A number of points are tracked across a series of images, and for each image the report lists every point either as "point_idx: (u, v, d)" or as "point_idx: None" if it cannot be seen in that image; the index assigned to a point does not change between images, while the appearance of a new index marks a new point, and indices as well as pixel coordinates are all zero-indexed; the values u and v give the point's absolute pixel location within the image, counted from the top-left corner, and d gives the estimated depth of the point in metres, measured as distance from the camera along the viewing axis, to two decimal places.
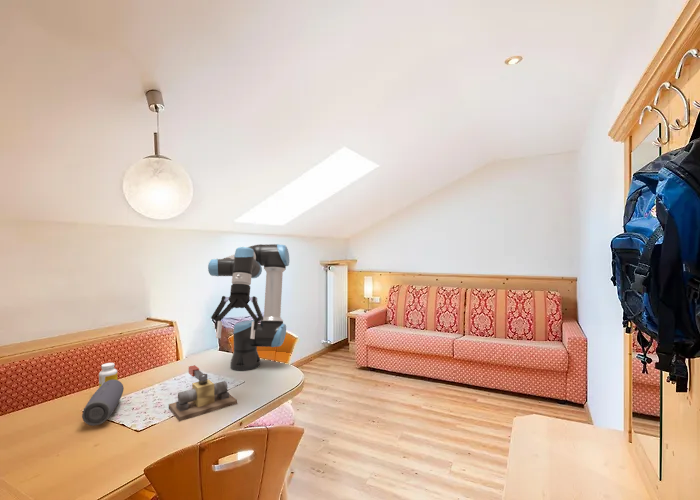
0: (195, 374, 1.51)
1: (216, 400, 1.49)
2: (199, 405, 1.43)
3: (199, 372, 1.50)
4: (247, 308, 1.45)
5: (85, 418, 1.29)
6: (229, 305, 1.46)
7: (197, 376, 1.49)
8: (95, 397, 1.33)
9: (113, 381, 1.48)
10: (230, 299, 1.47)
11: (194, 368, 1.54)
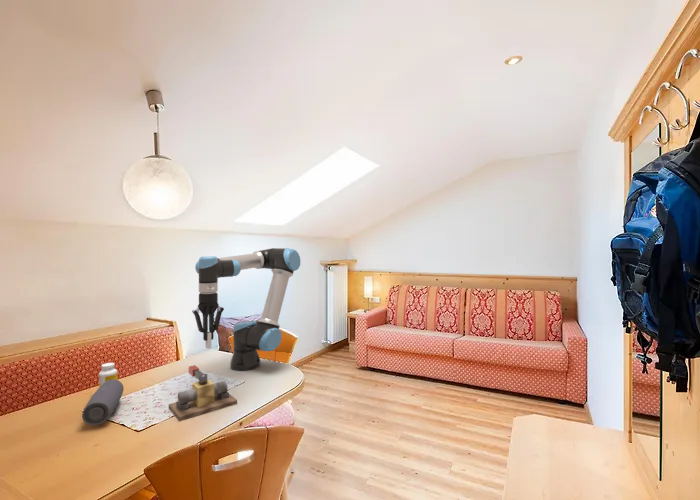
0: (195, 374, 1.51)
1: (216, 400, 1.49)
2: (199, 405, 1.43)
3: (199, 372, 1.50)
4: (212, 317, 1.57)
5: (85, 418, 1.29)
6: (206, 315, 1.55)
7: (197, 376, 1.49)
8: (95, 397, 1.33)
9: (113, 381, 1.48)
10: (202, 308, 1.55)
11: (194, 368, 1.54)
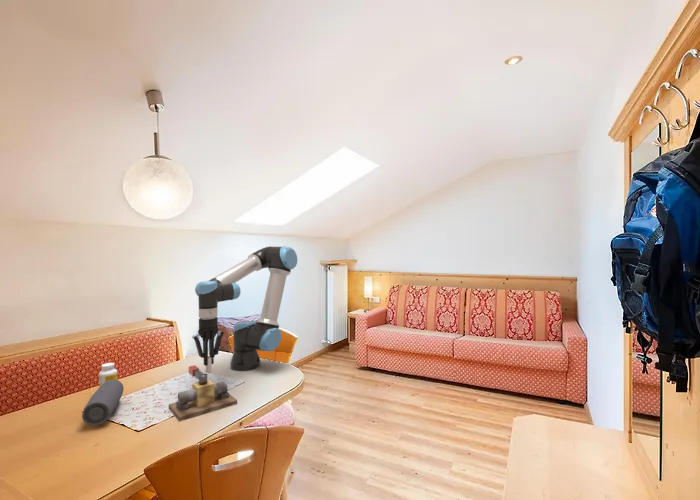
0: (195, 374, 1.51)
1: (216, 400, 1.49)
2: (199, 405, 1.43)
3: (199, 372, 1.50)
4: (212, 342, 1.58)
5: (85, 418, 1.29)
6: (206, 340, 1.56)
7: (197, 376, 1.49)
8: (95, 397, 1.33)
9: (113, 381, 1.48)
10: (202, 333, 1.55)
11: (194, 368, 1.54)
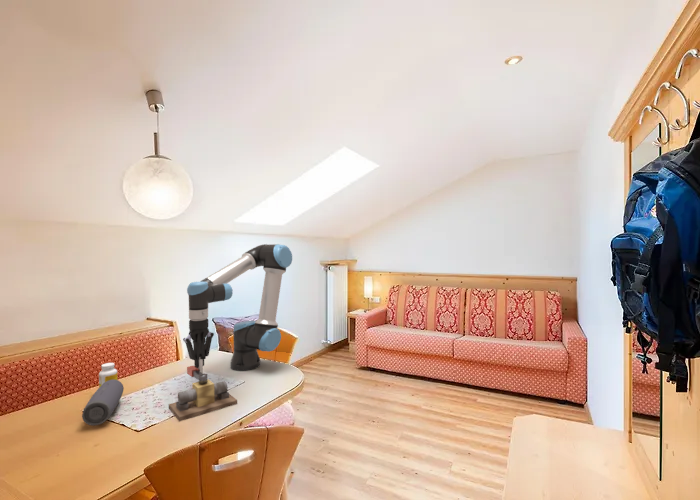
0: (194, 374, 1.51)
1: (216, 400, 1.49)
2: (199, 405, 1.43)
3: (198, 372, 1.50)
4: (203, 344, 1.55)
5: (85, 418, 1.29)
6: (198, 342, 1.53)
7: (197, 376, 1.49)
8: (95, 397, 1.33)
9: (113, 381, 1.48)
10: (193, 335, 1.52)
11: (193, 368, 1.54)
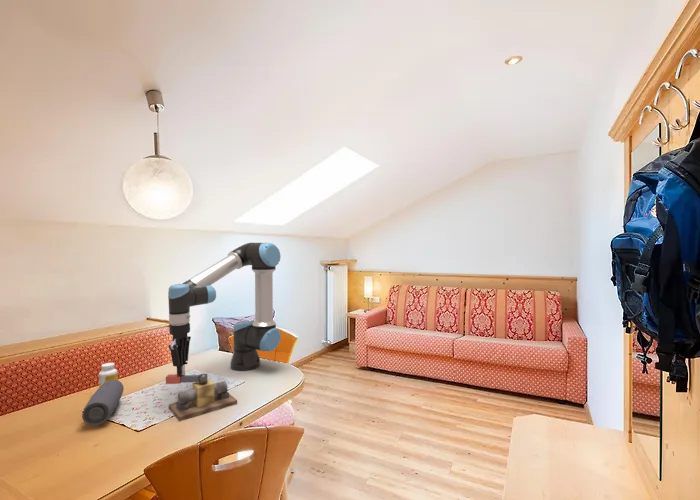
0: (185, 379, 1.46)
1: (216, 400, 1.49)
2: (199, 405, 1.43)
3: (191, 375, 1.47)
4: (184, 348, 1.49)
5: (85, 418, 1.29)
6: (182, 347, 1.46)
7: (192, 379, 1.46)
8: (95, 397, 1.33)
9: (113, 381, 1.48)
10: (178, 340, 1.45)
11: (177, 375, 1.46)
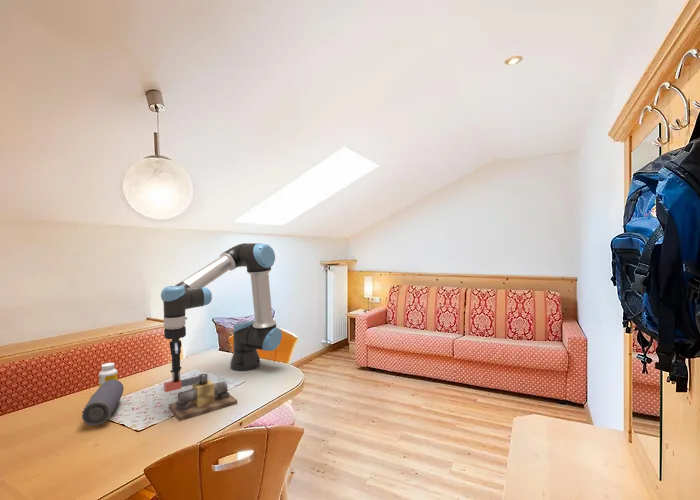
0: (186, 383, 1.42)
1: (216, 400, 1.49)
2: (199, 405, 1.43)
3: (190, 378, 1.44)
4: None
5: (85, 418, 1.29)
6: (180, 351, 1.42)
7: (193, 381, 1.44)
8: (95, 397, 1.33)
9: (113, 381, 1.48)
10: (179, 344, 1.40)
11: (176, 381, 1.40)
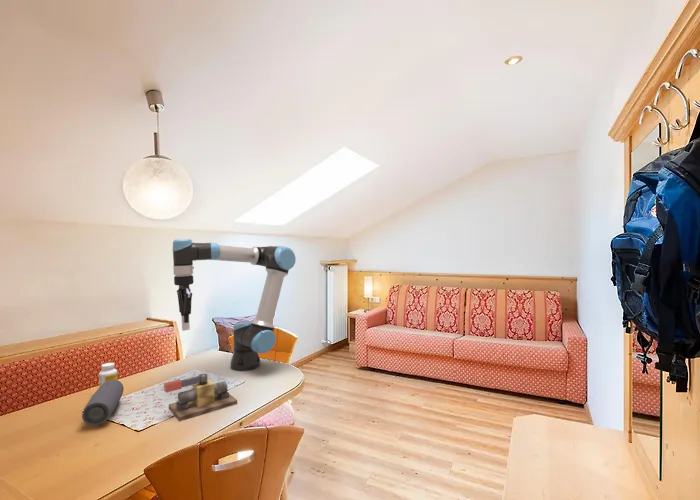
0: (187, 383, 1.42)
1: (216, 400, 1.49)
2: (199, 405, 1.43)
3: (190, 378, 1.44)
4: None
5: (85, 418, 1.29)
6: None
7: (194, 381, 1.44)
8: (95, 397, 1.33)
9: (113, 381, 1.48)
10: None
11: (176, 381, 1.40)
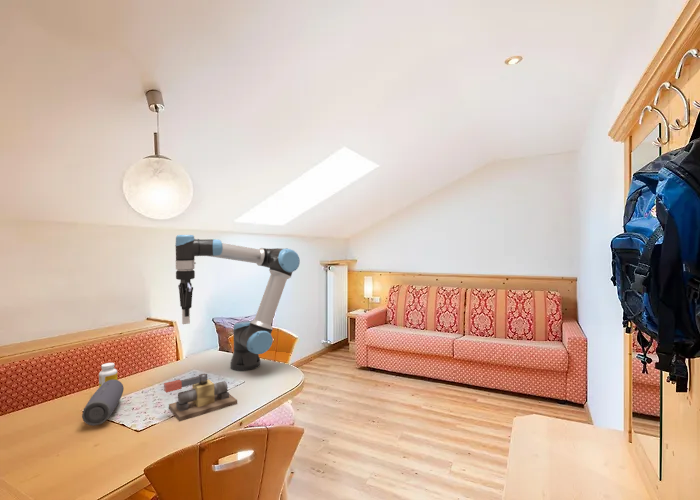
0: (187, 383, 1.42)
1: (216, 400, 1.49)
2: (199, 405, 1.43)
3: (190, 378, 1.44)
4: None
5: (85, 418, 1.29)
6: None
7: (194, 381, 1.44)
8: (95, 397, 1.33)
9: (113, 381, 1.48)
10: None
11: (176, 381, 1.40)
